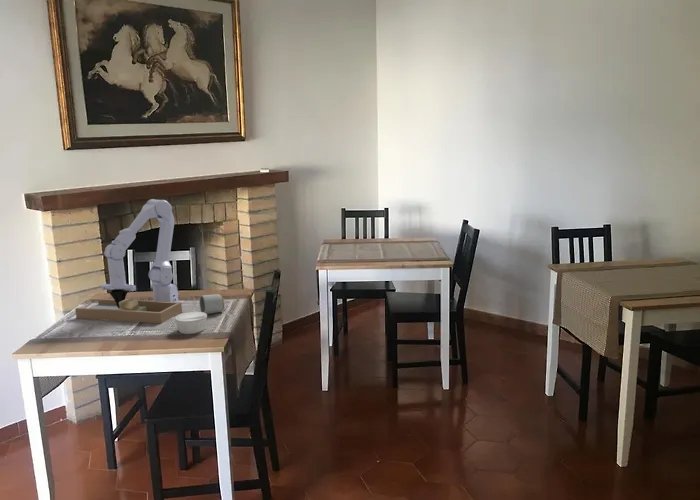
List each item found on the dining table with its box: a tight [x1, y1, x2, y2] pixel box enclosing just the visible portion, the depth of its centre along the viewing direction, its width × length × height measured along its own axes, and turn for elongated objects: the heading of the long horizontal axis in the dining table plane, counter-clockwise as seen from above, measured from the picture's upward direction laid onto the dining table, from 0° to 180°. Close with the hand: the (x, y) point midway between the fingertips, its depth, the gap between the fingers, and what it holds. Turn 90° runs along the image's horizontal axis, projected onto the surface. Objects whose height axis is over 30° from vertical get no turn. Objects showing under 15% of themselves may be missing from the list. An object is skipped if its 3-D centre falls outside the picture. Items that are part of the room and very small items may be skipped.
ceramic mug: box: [199, 293, 225, 315], centre depth 231 cm, size 11×8×8 cm
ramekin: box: [174, 311, 208, 335], centre depth 210 cm, size 11×11×5 cm
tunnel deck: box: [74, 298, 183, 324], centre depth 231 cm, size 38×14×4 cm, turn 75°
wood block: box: [119, 298, 139, 311], centre depth 230 cm, size 5×5×4 cm
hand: (120, 307), depth 231 cm, fingers closed
